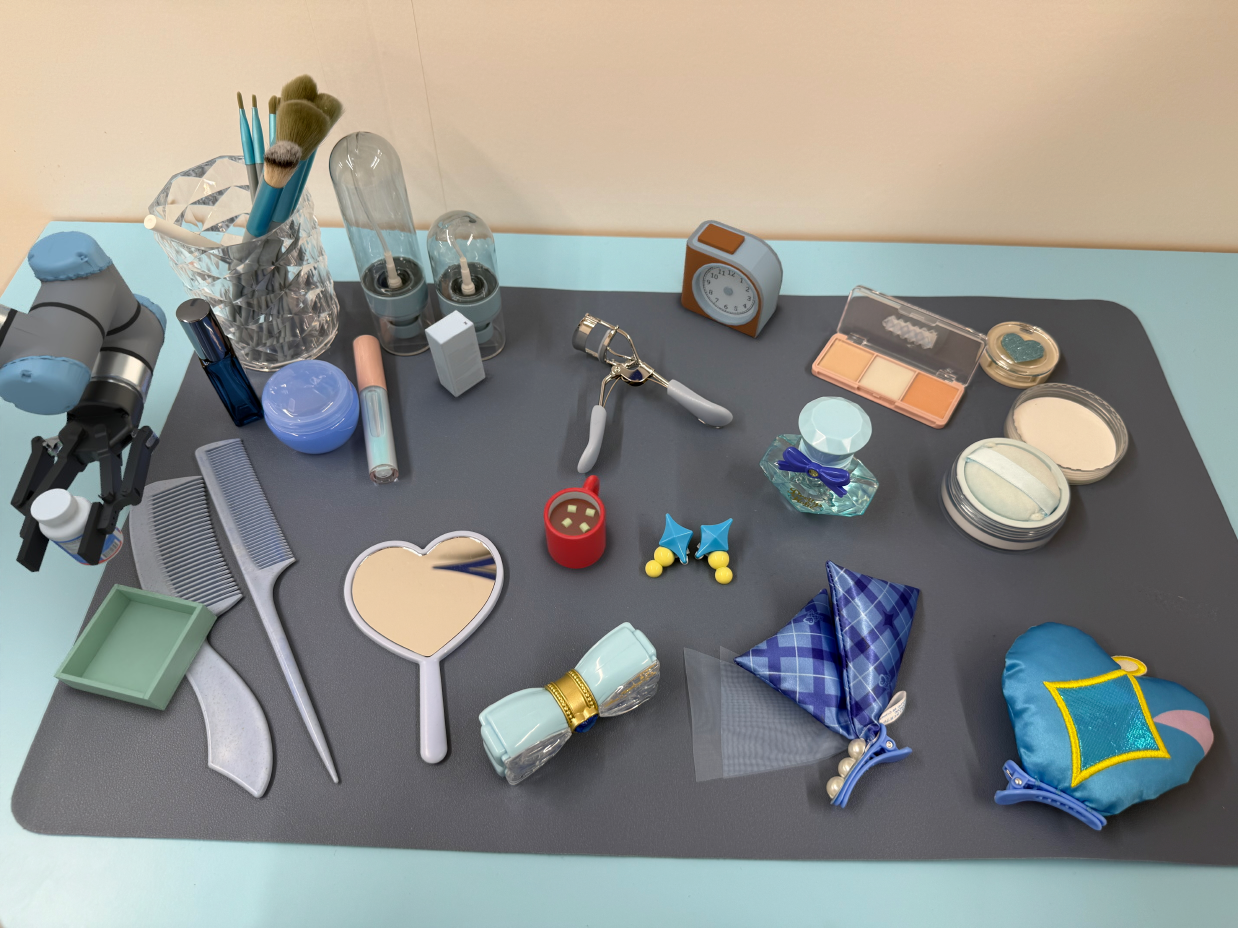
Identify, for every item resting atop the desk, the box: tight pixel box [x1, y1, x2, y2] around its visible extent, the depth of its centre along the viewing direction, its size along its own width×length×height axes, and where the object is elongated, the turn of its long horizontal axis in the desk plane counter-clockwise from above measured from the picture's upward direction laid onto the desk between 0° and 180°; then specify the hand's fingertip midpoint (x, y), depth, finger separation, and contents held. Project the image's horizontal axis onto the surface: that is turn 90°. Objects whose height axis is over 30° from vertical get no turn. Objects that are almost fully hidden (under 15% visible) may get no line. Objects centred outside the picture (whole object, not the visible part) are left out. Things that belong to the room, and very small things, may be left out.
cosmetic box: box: [424, 309, 486, 398], centre depth 116 cm, size 6×4×12 cm
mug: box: [543, 474, 606, 570], centre depth 102 cm, size 8×12×8 cm, turn 164°
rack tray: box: [53, 583, 218, 712], centre depth 94 cm, size 12×12×4 cm
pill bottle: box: [31, 489, 124, 567], centre depth 86 cm, size 6×5×10 cm
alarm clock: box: [680, 219, 784, 339], centre depth 125 cm, size 15×8×14 cm, turn 58°
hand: (57, 562), depth 82 cm, fingers closed on pill bottle, 5 cm apart
